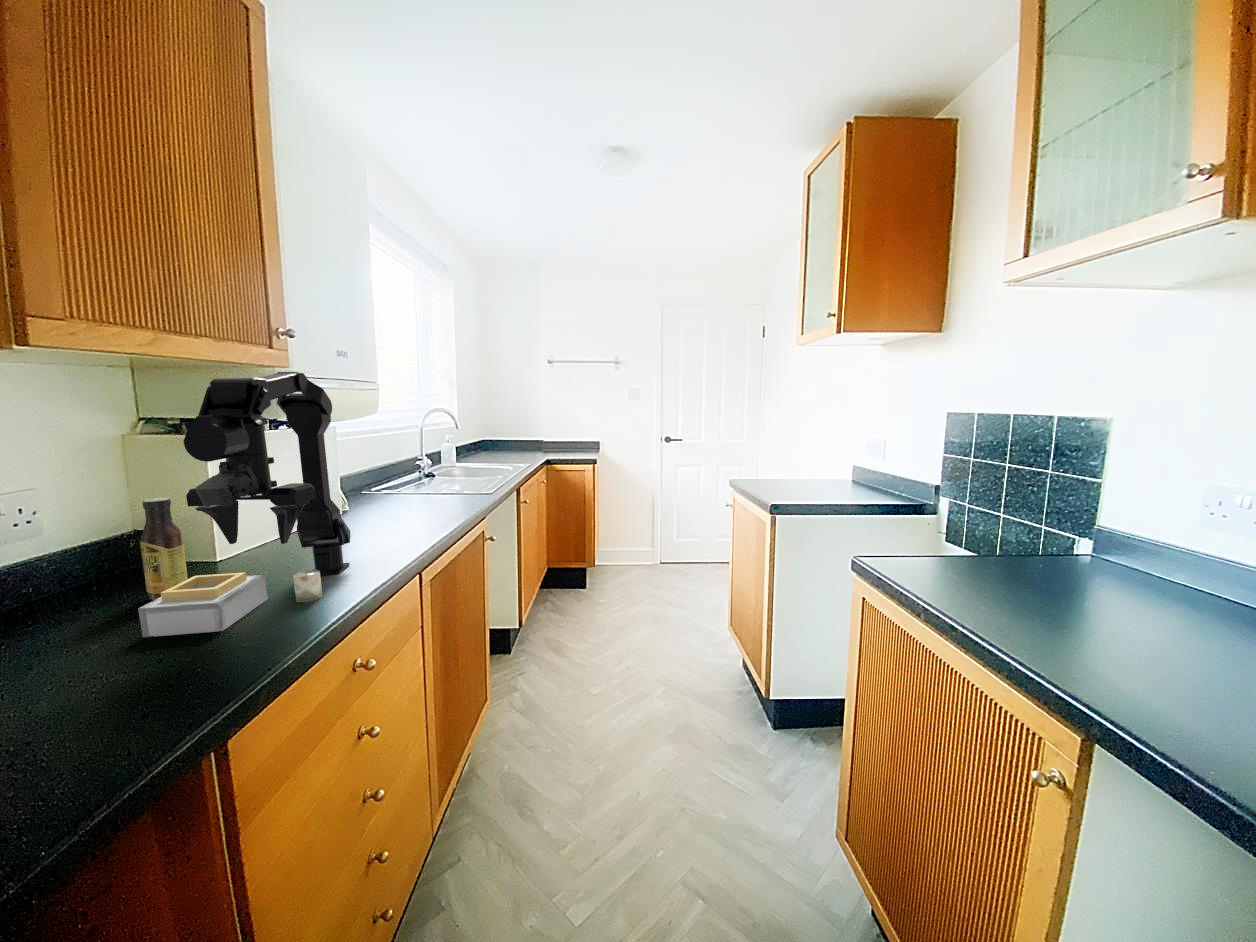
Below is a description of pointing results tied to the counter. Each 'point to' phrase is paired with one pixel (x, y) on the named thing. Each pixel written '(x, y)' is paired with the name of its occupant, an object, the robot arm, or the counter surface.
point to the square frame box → (203, 604)
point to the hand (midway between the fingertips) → (258, 543)
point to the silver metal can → (307, 586)
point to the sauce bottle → (161, 548)
